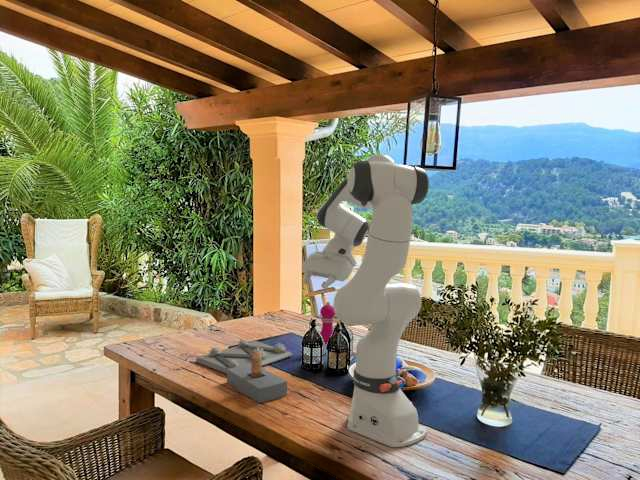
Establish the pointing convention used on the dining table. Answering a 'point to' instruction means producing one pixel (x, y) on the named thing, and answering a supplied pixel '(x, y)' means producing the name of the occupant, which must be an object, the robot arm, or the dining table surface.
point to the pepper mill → (327, 321)
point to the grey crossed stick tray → (242, 355)
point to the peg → (256, 364)
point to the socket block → (257, 383)
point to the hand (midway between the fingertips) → (314, 285)
